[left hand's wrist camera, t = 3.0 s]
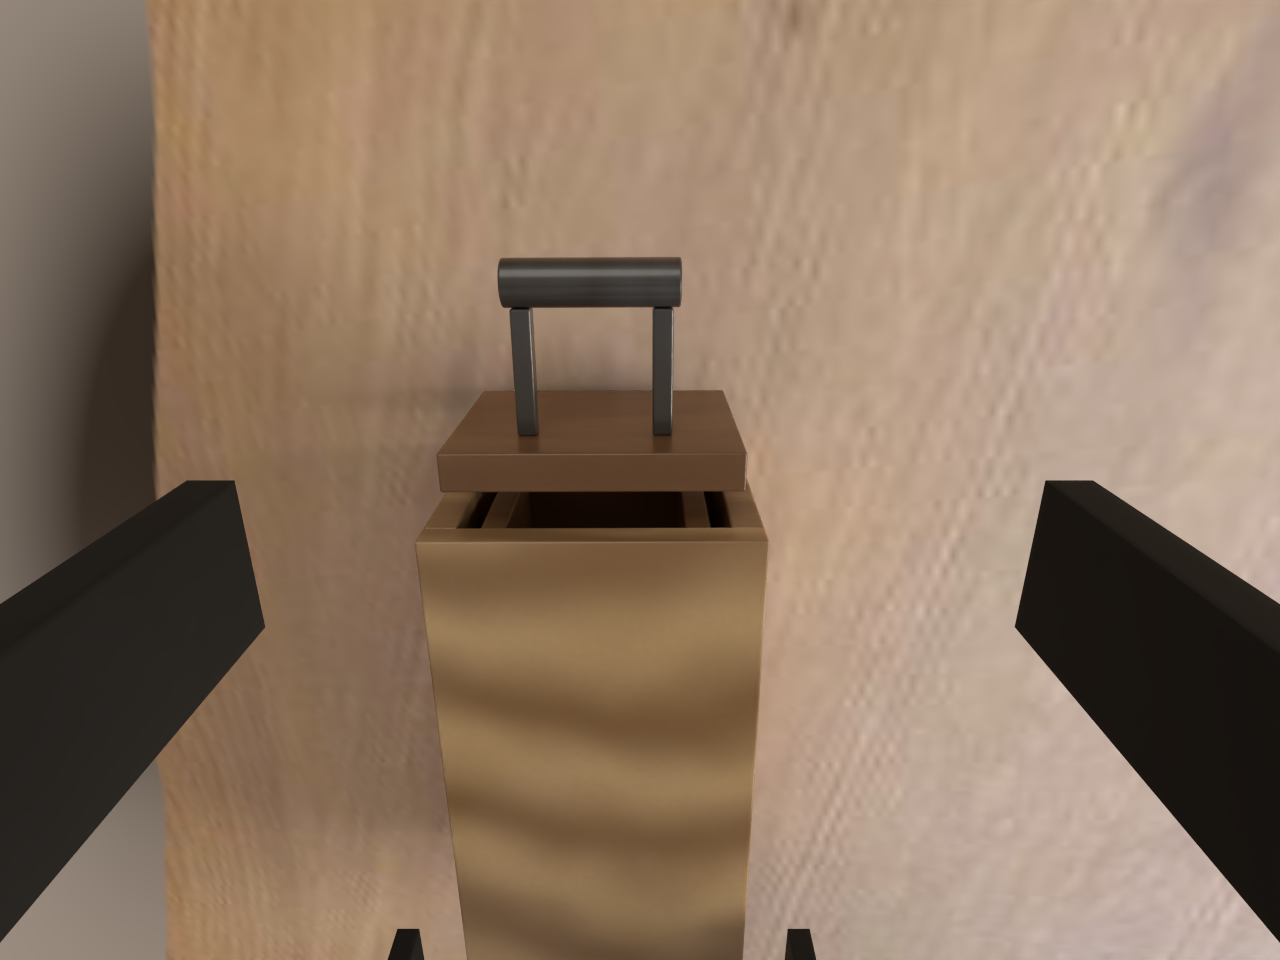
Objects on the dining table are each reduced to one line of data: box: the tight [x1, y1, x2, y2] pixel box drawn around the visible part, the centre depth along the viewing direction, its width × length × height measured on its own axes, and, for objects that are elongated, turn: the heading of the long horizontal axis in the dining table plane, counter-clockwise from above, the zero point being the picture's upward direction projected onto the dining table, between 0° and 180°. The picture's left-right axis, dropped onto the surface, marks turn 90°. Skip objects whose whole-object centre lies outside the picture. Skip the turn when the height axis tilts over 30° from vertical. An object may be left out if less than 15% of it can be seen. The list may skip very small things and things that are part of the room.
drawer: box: [437, 257, 747, 528], centre depth 27 cm, size 25×9×7 cm, turn 0°
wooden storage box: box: [415, 478, 769, 960], centre depth 29 cm, size 21×10×9 cm, turn 0°
